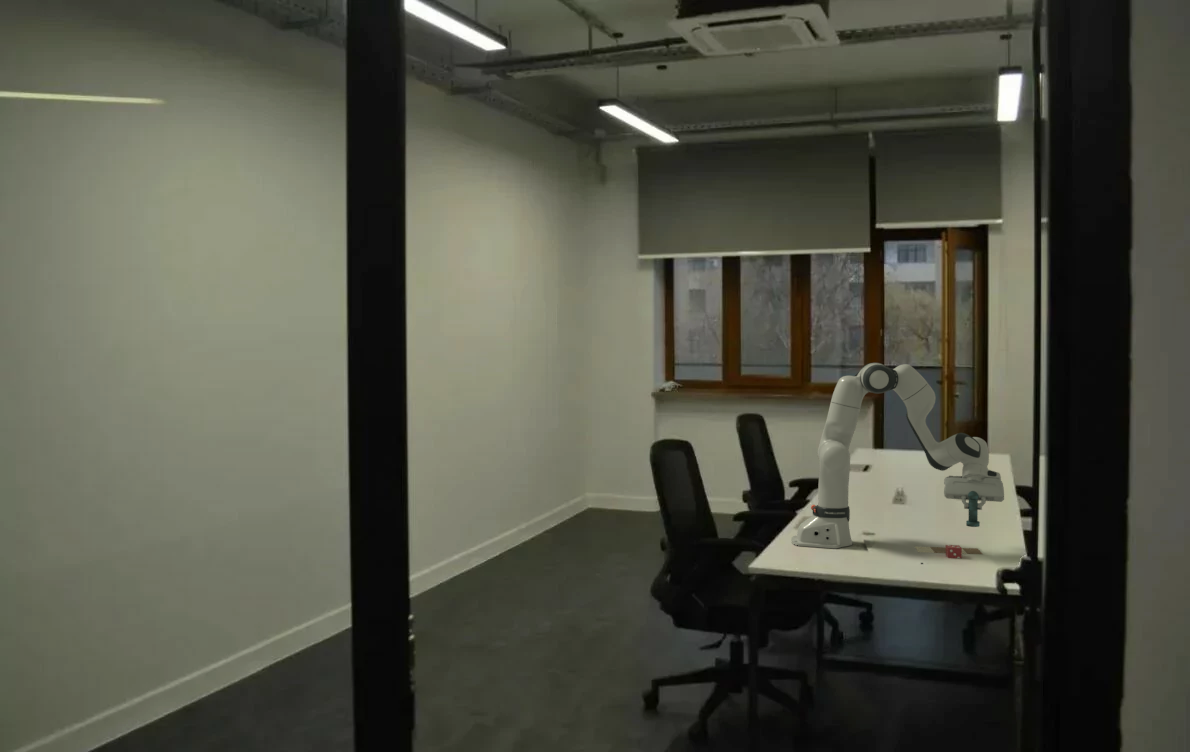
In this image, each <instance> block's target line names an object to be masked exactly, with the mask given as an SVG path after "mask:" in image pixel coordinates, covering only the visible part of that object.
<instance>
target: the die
mask: <svg viewBox="0 0 1190 752" xmlns="http://www.w3.org/2000/svg"><path fill="white" fill-rule="evenodd" d="M945 547H946V553H945V557H947V558H948V559H962V556H963V554H962V548H963V547H961V546H960V545H959V544H956V545H955V544H954V545H953V544H945Z"/></svg>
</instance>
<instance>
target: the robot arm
mask: <svg viewBox="0 0 1190 752" xmlns="http://www.w3.org/2000/svg"><path fill="white" fill-rule="evenodd" d="M833 390H834V391H833V393H832V395H831V400H830V402H829V403H830V404H829V409H828V412H827V415H826V420H825V424H824V426H823V430H822V433H821V436H820V440H819V444H818V448H817V452H816V453H817V457H818V459H819V470H818V472H819V473H818V486H817V487H818V488H817V489H818V490H817V492H818V493H817V495H818V497H817V501H818V504H817V505H815V504H812V505H811V506H810V509H811V510H812V515H810V516H809V517H808V518H807V519H806V520H804V521H802V522H801V523H800V525H799V526H798V528H797V531H796V532H797V533H796V535H794V536H792V537H791V541H792V542H791V541H790V542H791V544H793V545H794V544H795V545H794V546H797V545H798V546H797V547H810V548H822V549H823V548H824V549H840V548H843V547H849V546H852V545H853V540H852V537H851V531H850V530H851V529H850V519H851V511H850V510H851V509H850V505H849V486H850V485H849V482H850V470H851V452H850V451H849V449H850V445H851V443H852V441H853V440H852V439H853V438H854V437H853V436H854V433H855V431H856V429H857V423H858V420H859V415H860V412H861V407H862V404H863V403H862V402H863V400H864V398H865V395H867V394H869V393H873V394H878V395H879V394H883V393H887V392H890V391H894V392H895V393H896V394H897V395H898V396H899V398H900V400H902V402H903V404H904V406H905V407H906V411H907V412H906V414H905V415H906V416H905V417H906V420H907V422H908V424H909V427H910V428H911V431H913V434H914V435H915V437H916V439H917V441H918V443H919V444H920V446H921V447H922V450H923V452H924V454H925V457H926V459H927V463H928V464H929V465H930V466H931V467H932V468H934V469H936V470H938V471H942V472H944V471H947V470H948V469H950V468H952V467H953V466H955V465H957V464H959V463H961V464H962V471H961V472H962V473H961V475H948V476H946V477H945V478H944V480H943V484H944V489H943V496H944V497H945V498H946V499H948V500H961V503H962V504H963V509H964V510H965V509H966V510H969V502H967V501H969V497H968V494H969V492H971V491H975V492H977V493H978V498H977V499H978V501H980V502H978V504H977V505H978V506H977V509H978V511H979V510H980V511H982V510H983V506H984V505H985V504H986V502H999V503H1000V502H1001V503H1002V502H1003V501H1004V500H1005V490H1004V483H1003V481H1002V476H1001V473H1000V472H998V471H994V470H991V469H989V468H988V465H989V463H990V459H989V458H990V454H989V453H990V451H989V445H988V443H987V442H986V441H985V440H984V439H983V438H981V437H978V436H970V435H969V434H967V433H965V432H958V433H956V434H953V435H951V436H949V437H948V438H946V439H944V440H942V441H937V440H935V438H934V436H933V434H932V432H931V430H930V428H929V427H928V425H927V416H928V415H929V413H930V412H931V411H932V409H934V407H935V403H936V393H935V391H934V389H933V388H932V387H931V385H930V384H929V382H928V381H927V380H926V379H925V378H924V377H923V376H922V374H920V372H918V370H917V369H915V368H914V367H913V366H912V365H911V364H907V363H904V364H900V365H898V366H896V367H895V368H890V367H889V366H887V365H884V364H883V363H880V362H869V363H867V364H865V365H863V366H862V367H861V368H860V369H859V370H858V371H857V372H856V374H855V375H843V376H841V377H840V378H839V379H838V380H837V383H836V385H835V387H834V389H833Z"/></svg>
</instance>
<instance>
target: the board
mask: <svg viewBox="0 0 1190 752" xmlns="http://www.w3.org/2000/svg"><path fill="white" fill-rule="evenodd" d="M914 548H915V549H916V551H917V552H918V553H927V554H928V553H932V554H946V546H945V547H944V546H943V547H942V546H941V547H939V546H917V545H916V546H914ZM961 548H962V555H963V554H964V555H984V553H983V552H982V551H981V550H979V549H980V548H977V547H976V548H973V547H961Z"/></svg>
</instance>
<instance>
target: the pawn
mask: <svg viewBox="0 0 1190 752" xmlns="http://www.w3.org/2000/svg"><path fill="white" fill-rule="evenodd" d="M968 497H969V500H968V503H969V509H968V520H966V523H965V524H966V526H967V527H968V528H969V527H972V528H979V527H980V523H981V522H980V521H978V518H979V517H978V515H979V514H978V513H979V512H978V511H979V510H978V509H977V506H978V505H977V504H978V503H979V502H978V501H979V500H978V499H977V498H978V493H977V492H975V491H971V492H969V494H968Z"/></svg>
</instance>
